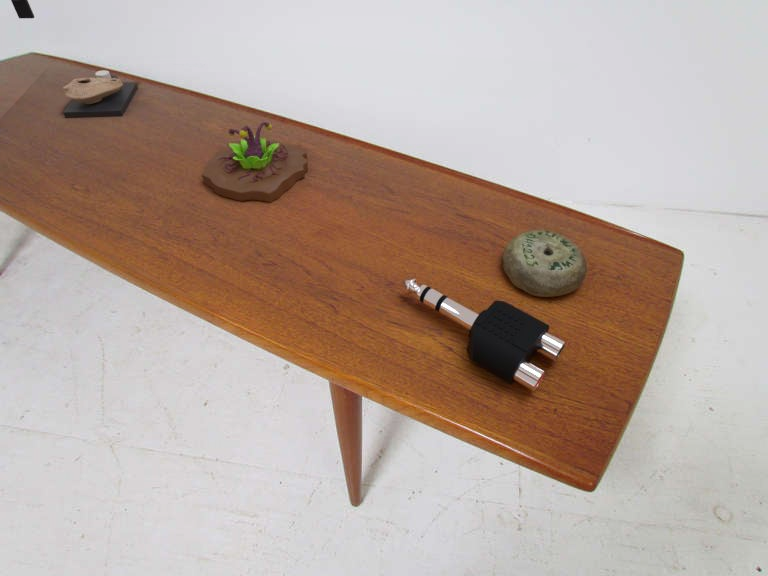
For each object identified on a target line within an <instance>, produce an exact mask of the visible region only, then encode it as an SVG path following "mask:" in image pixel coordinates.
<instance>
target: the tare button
mask: <svg viewBox="0 0 768 576" xmlns="http://www.w3.org/2000/svg"><path fill="white" fill-rule="evenodd" d="M94 75H95V77H97V78H111V76H110V75H111V73H110V71H109V70H106V69H103V70H98V71H96V72H95V73H94Z"/></svg>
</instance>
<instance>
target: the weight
mask: <svg viewBox="0 0 768 576" xmlns="http://www.w3.org/2000/svg"><path fill="white" fill-rule="evenodd" d="M501 265H502V268H503V270H504V272H505V274H506V276H507V277H508V278H509V280H510V282H511V283H512V284H513V286H514V287H516V288H517V289H520V290H522V291H524V292H525V293H527V294H529V295H531V296H535V297H539V298H554V297H560V296H564V295H567V294H570V293H572V292H574V291H576V290H577V289H578V288H579V287H580V286H581V285H583V282H584V279H585V278H586V276H587V271H588V263H587V260H586V257H585V255H584V253H583V251H582V250H581V249H580V247H579V246H578V245H577V244H576V243H575V242H574V241H572V240H571V239H570V238H568V237H567V236H564V235H563V234H560V233H558V232H554V231H551V230H546V229H534V230H527V231H524V232H521V233H520V234H518V235H516V236H514V237H513V238H512V239H511V240H510V241H509V242H508V243H507V244H506V246H505V248H504V249H503V253H502V257H501Z"/></svg>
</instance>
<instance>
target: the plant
mask: <svg viewBox="0 0 768 576" xmlns="http://www.w3.org/2000/svg"><path fill="white" fill-rule="evenodd" d="M264 126H265V129H266V130H268V131H271V130H272V129H273V125H272V124H271V123H270V122H267V121H263V122H260V124H259V125H258V127H257V129H256V131H255V135H254V133H253V131H252V129H251V128H250V127H249V126H248V125H245V126H242V128H241V129H240V130H238V129H234V128H229V129H228V130H227V134H228V136H231V137H234V136H235V135H236V134H237V135H239V137H240V138H241V139H240V140H236V141H232V142H229V143H228V146H227V147H225V148H222V149H219V150H217V151H216V152H215V153H214V154H213V156H212V157H211V159H210V160H209V161H208V162H207V163H206V165H205V166H204V169H203V170H202V172H201V176H202V179H203V184H204V185H206V186H207V187H210V188H211V189H212V190H213V191H214V193H216V195H217V194H218V195H219V196H221V197H224V198H228V199H232V200H235V201H238V202H245V201H260V202H266V203H272V202H274V201H276V200H277V199H279V198H280V197H281V196H282V195H283V194H284V193H285V192H287V191H289V190H291V188H292V187H293V186H294V185H295V184H296V183H297V182H298V181H299V180H301V179H304V178H305V174H306V173H307V172H308V171H309V164H308V153H307V151H306V150H305V149H304V148H302V147H300V146H298V145H295V144H291V143H285V142H282V141H278V140H271V139H266V137H261V130H262V128H263V127H264Z"/></svg>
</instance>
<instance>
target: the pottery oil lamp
mask: <svg viewBox="0 0 768 576" xmlns="http://www.w3.org/2000/svg"><path fill="white" fill-rule="evenodd" d="M123 83H124V82H122V80H121V79H120V78H118V79H117V78H95V77H78V78H73V79H72V81H70V82H69V83H68V84H66V85H65V86H63V87H62V89H63V90H64V95H65V97H66V98H68V99H70V100H75V101H78V102H82V103H84V104H93V103H96V102H99V101H101V100H102V98H103V97H106V96H109V95H111V94H113V93H116V92H118V91H119V90H120V89H121V87H122V86H123Z"/></svg>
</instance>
